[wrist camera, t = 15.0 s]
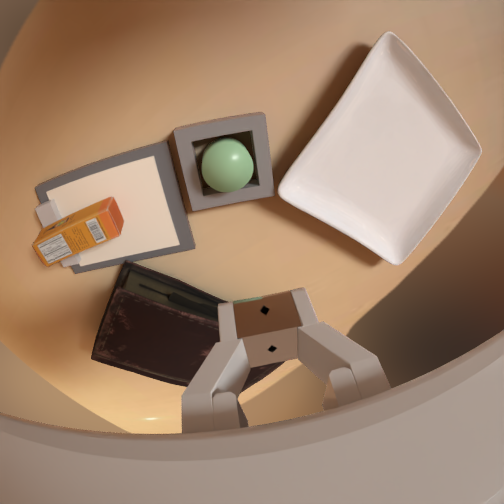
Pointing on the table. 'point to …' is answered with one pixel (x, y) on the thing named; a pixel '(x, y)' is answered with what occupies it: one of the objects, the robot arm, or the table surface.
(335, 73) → the table surface
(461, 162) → the salad plate
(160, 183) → the clipboard
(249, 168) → the button
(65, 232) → the supplement box
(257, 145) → the button bezel
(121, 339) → the diary
